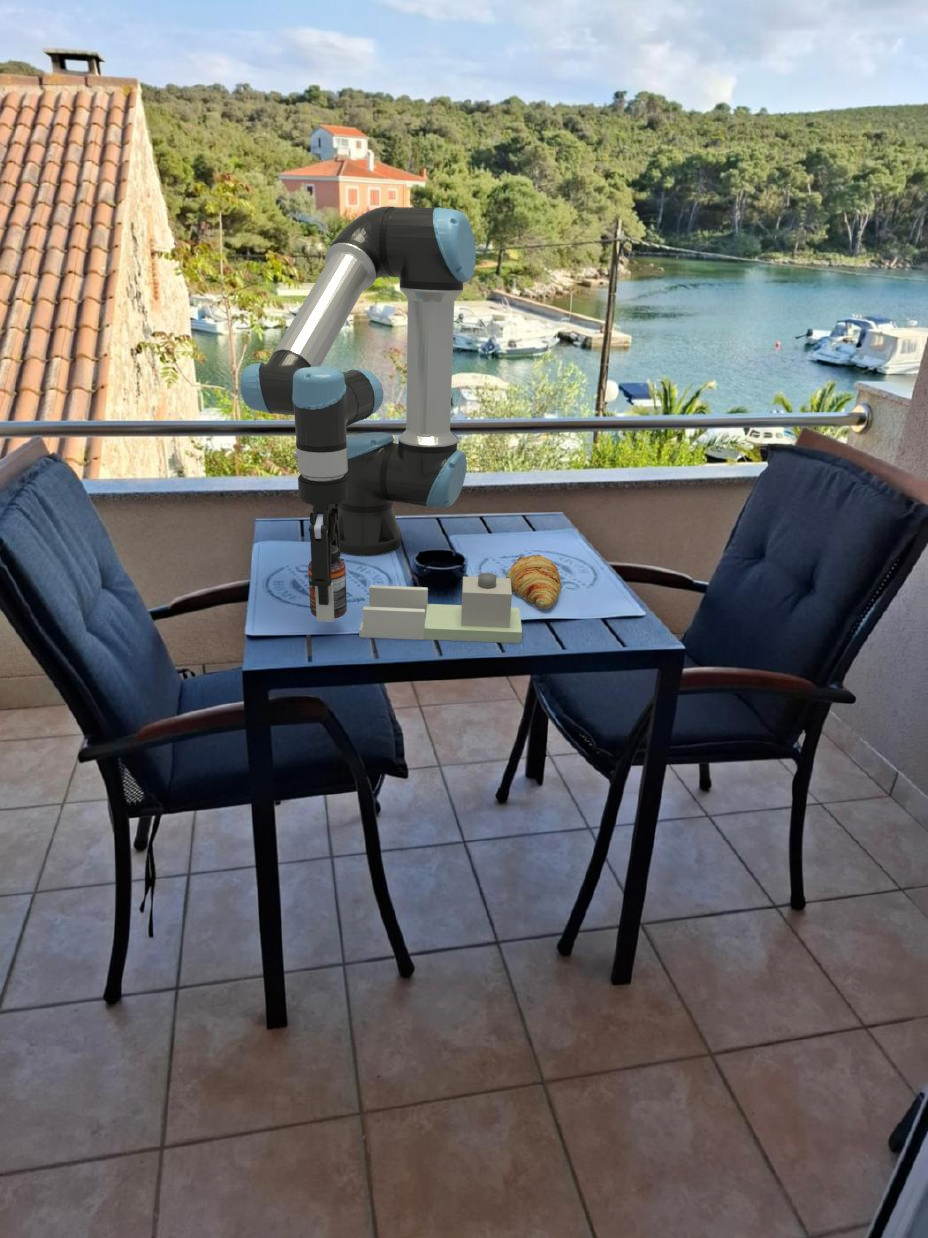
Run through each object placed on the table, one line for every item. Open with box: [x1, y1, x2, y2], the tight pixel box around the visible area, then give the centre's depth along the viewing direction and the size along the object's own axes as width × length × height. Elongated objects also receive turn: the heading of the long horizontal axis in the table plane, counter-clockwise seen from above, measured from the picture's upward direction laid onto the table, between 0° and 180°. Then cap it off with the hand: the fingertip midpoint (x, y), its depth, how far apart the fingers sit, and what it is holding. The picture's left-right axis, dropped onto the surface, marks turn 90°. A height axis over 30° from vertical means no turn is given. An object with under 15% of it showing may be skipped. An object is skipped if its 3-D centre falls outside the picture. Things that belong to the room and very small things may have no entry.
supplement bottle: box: [307, 545, 348, 620], centre depth 134 cm, size 6×6×11 cm
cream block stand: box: [358, 572, 523, 644], centre depth 139 cm, size 10×27×10 cm, turn 89°
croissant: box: [505, 554, 562, 610], centre depth 156 cm, size 21×10×8 cm, turn 9°
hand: (328, 611), depth 136 cm, fingers closed on supplement bottle, 6 cm apart
